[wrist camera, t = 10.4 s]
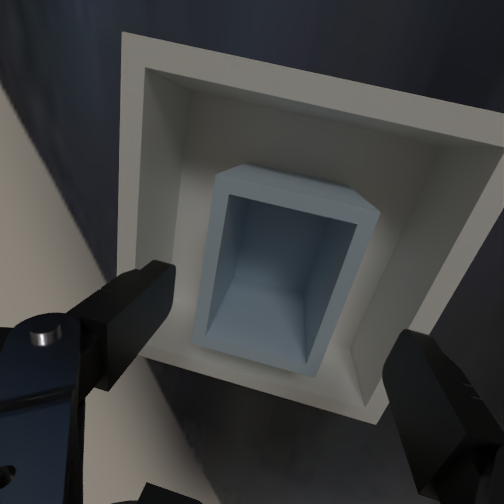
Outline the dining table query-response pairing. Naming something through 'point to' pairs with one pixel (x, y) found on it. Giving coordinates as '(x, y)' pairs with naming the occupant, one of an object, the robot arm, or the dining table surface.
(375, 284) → the large crate
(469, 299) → the dining table surface
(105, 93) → the dining table surface
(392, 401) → the robot arm
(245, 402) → the dining table surface
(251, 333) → the small crate
